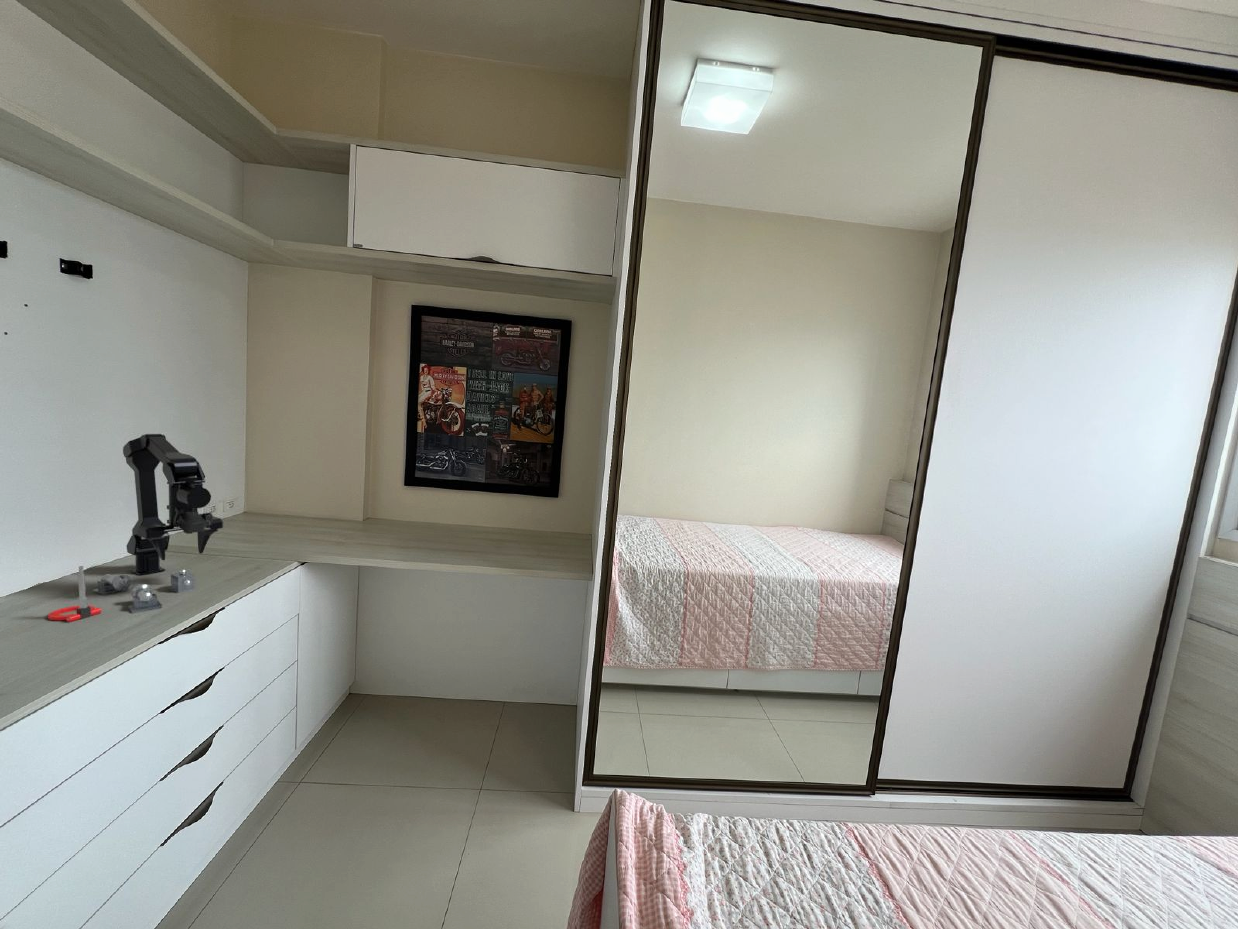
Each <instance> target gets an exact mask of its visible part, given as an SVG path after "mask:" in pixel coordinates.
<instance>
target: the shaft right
mask: <svg viewBox="0 0 1238 929" xmlns="http://www.w3.org/2000/svg"><path fill="white" fill-rule="evenodd" d="M130 596H131V597H132V605H131V604H130V605H128V609H129V611H130V612H131V614H134V613H141V612H146V611H153V610H156V609H157V610H158V609H162V608H163V605H162V603H161V602H160V601H159V600H158V595H157V594H156V593H153V589H152V587H151V585H149V584H148V583H138V584H136V585H135V586H133V587H132V589H131V591H130Z"/></svg>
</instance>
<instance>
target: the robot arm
mask: <svg viewBox="0 0 1238 929" xmlns="http://www.w3.org/2000/svg"><path fill="white" fill-rule="evenodd" d="M122 454H123V457H124V458H125V461H126V462H125V463H126V465H128V466H129V467H130V469H131V470H132V471H133V472H134V482H135V483H134V485H135V495H136V496H135V497H136V505H137V506H136V508H137V517H138V520H137V521H136V523H135V524H134V526H133V527H132V529H131V530H132V531H131V534H132V535H130V538H129V540H128V542H127V544H126V553H127V554H129V555H131V556H135V559H134V560H135V568H132V569H130V572H131V573H133V574H136V575H138V576H144V575H149V574H155V573H161V572H165V571H166V569H165V568H164V567H163V566H161V561H166V551H168V548H169V543H170V538H171V536H170V534H169V533H171V532H177V531H183V533H185V534H187V535H189V534H194V533H196V534H197V549H198V554H200V555H201V554H203V553H204V550H205V548H206V546H207V543H208V542H209V539H210V537H211V536H212V535H213V534H214V533H216V532H218V531H219V530H220V529H224V521H223V519H222V518H220V517H217V516H213V514H212V513H211V512H205V513H204V512H203V513H199V511H198V509H202V508H205V507H207V505H209V504H210V502H211V499H212V495H211V492H210V491H209V490H208V489H207V488H205V487H203V486H204V483H206V479H205V478H206V475H205V473H204V471H203V468H202V466H201V464H200V462H199V461H198V460H197V459H196V458H195V457H193V456H192V455H190V454H187V453H182V452H180V451H179V450H178V449H177V448H176V447H175V446H174V445H172V444H171V443H170V442H169V441H168V439H167V438H166V435H164V434H162V433H145V434H142V435H141V436H140V437H137V438H134V439H131V440H128V441H127V443H125V444H124V446H123V447H122ZM160 463H161V464H162V473H163V475H164V476H165V478H166V485H168V505H166V510H168V519H166V523H165V522H163V521H162V520H161V519H160V518H159V508H158V498H157V497H158V496H157V485H156V473H155V471H156V469H157V467H158V465H159V464H160ZM167 524H168V525H167Z"/></svg>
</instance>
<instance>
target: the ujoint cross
mask: <svg viewBox="0 0 1238 929" xmlns="http://www.w3.org/2000/svg"><path fill="white" fill-rule="evenodd" d="M170 589H171V591H173V592H176V593H182V592H187V591H191V590H195V573H193V572H191V571H187V570H186V568H185V569H184V568H182V569H179V572H176V573H170Z"/></svg>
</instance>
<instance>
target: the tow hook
mask: <svg viewBox="0 0 1238 929" xmlns="http://www.w3.org/2000/svg"><path fill="white" fill-rule="evenodd" d="M77 577H78V579H77V580H78V594H79V595H78V596H79V597H78V605H74V606H69V607H68V606H67V607H65V608H64V607H63V608H59V609H57V610H53V611H51V612H50V613H48V614H47V619H48V620H50V621H66V622H68V623H71V622H74V621H78V620H83V619H86V618H90V617H92V616H95V615H98V614H101V613H102V608H100V607H97V608H96V607H95V606H93V605H88V596H87V593H86V592H87V590H86V589H87V588H86V574H85V573H84V565H80V566H78V575H77ZM75 611H76V613H75V614H74V613H72V614H64V613H68V612H75ZM61 614H62V615H61Z"/></svg>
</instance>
